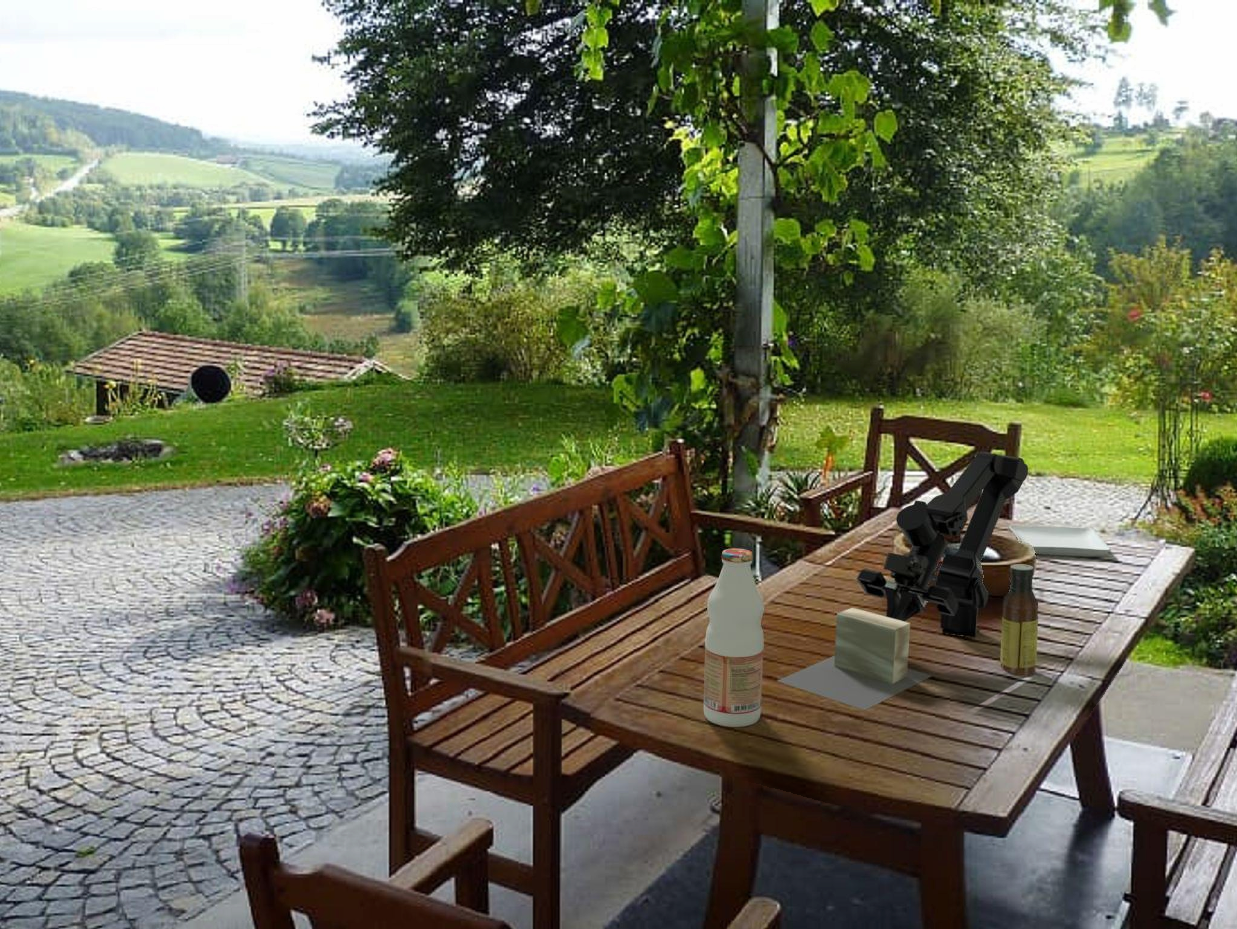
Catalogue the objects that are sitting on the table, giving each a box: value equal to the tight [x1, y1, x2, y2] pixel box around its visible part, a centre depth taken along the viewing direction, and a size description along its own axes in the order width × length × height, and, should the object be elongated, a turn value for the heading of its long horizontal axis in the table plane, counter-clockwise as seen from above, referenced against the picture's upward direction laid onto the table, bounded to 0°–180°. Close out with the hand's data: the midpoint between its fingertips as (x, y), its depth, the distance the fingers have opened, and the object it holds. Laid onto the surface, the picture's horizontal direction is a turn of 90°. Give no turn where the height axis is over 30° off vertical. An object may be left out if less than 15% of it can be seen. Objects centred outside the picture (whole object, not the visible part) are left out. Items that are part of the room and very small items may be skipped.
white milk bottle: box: [703, 547, 765, 728], centre depth 189 cm, size 9×9×28 cm
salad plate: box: [1008, 524, 1111, 558], centre depth 298 cm, size 21×21×3 cm
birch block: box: [834, 607, 911, 684], centre depth 210 cm, size 5×12×10 cm, turn 46°
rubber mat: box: [776, 655, 932, 711], centre depth 208 cm, size 22×18×1 cm
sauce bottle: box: [999, 563, 1039, 677], centre depth 211 cm, size 6×6×20 cm
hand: (887, 629), depth 214 cm, fingers closed
